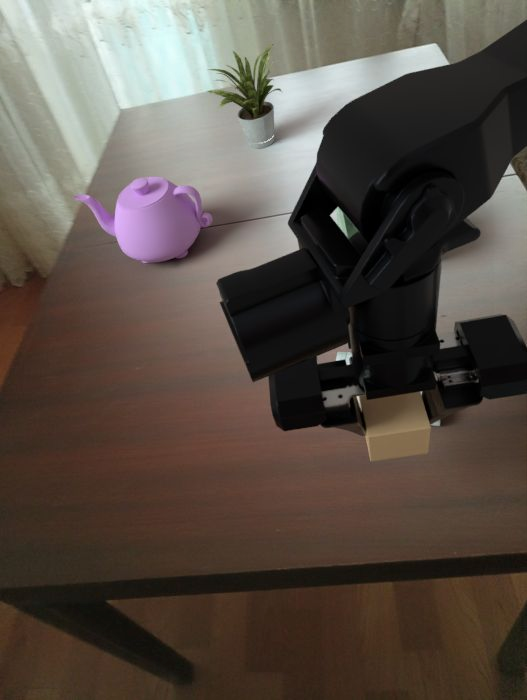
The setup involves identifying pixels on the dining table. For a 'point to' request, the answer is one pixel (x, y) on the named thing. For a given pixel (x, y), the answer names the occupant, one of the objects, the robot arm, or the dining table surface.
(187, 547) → the dining table surface
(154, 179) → the teapot
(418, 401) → the tan cardboard cube
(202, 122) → the dining table surface
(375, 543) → the dining table surface
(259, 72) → the house plant
